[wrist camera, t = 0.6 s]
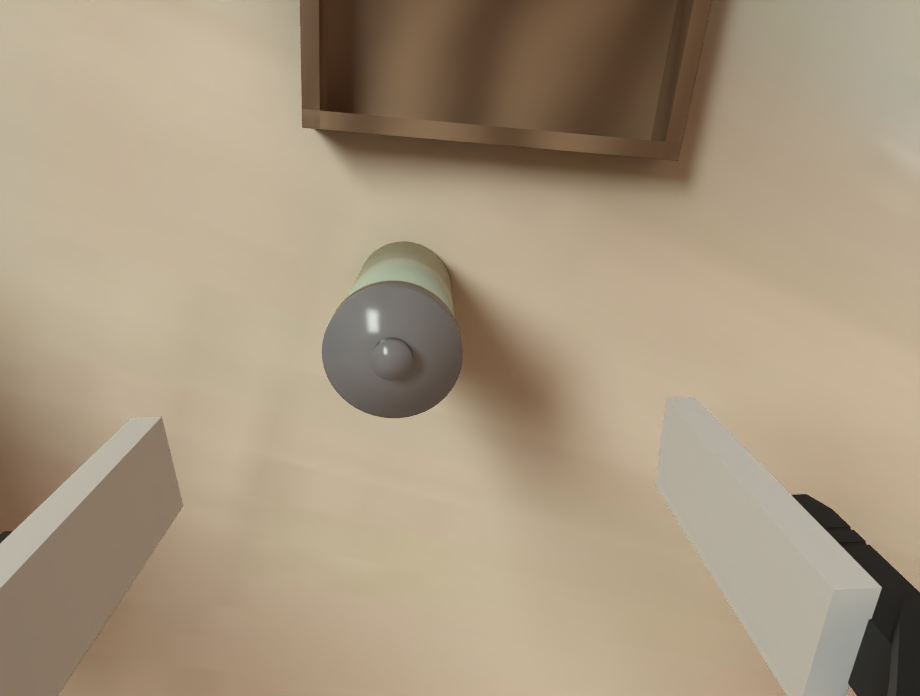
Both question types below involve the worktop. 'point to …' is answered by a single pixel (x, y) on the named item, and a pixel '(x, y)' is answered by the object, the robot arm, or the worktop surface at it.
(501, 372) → the worktop surface
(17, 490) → the worktop surface
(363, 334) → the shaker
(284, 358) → the worktop surface
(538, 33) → the tray
